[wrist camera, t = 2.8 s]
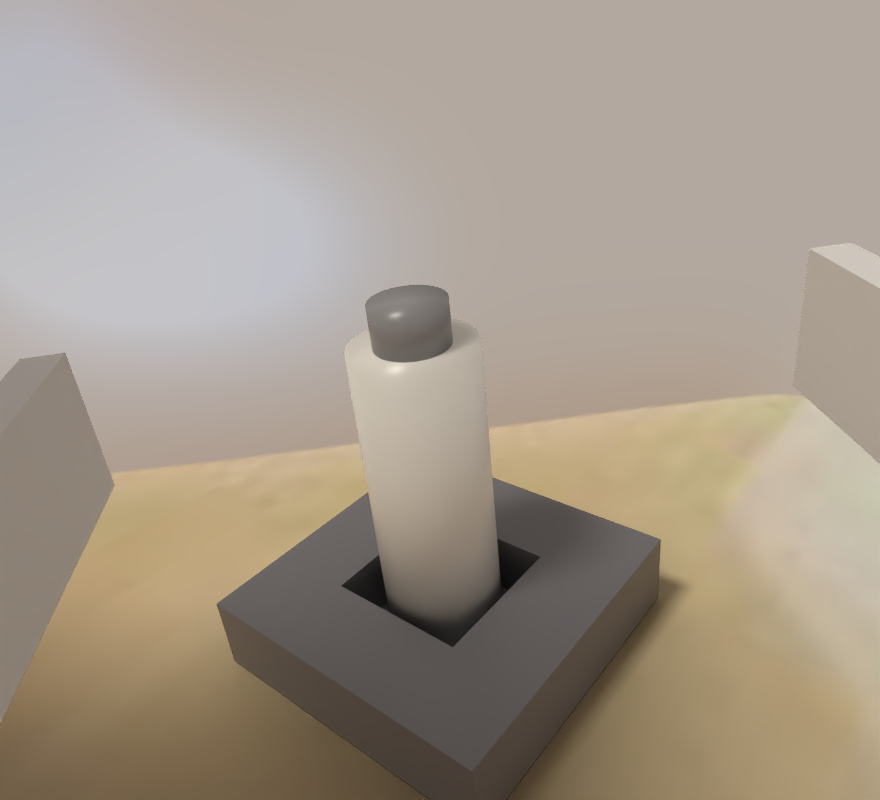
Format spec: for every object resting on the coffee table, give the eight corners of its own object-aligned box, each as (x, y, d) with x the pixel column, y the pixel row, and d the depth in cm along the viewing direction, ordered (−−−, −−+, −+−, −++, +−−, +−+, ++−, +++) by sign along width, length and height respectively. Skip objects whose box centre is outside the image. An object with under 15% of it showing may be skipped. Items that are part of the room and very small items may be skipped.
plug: (368, 631, 30) (307, 313, 24) (439, 567, 33) (401, 267, 27) (456, 682, 28) (414, 341, 21) (525, 608, 31) (505, 287, 24)
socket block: (234, 660, 30) (216, 603, 29) (429, 502, 38) (422, 451, 37) (479, 835, 23) (472, 771, 22) (657, 598, 31) (660, 539, 30)
